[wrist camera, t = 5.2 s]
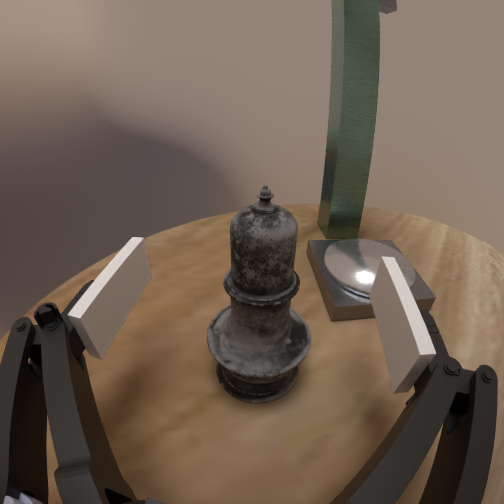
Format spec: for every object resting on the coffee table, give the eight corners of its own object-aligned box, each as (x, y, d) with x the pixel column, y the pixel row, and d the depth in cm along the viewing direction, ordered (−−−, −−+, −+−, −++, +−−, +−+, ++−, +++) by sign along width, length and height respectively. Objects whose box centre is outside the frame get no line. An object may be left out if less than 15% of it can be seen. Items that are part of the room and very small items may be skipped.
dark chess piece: (200, 350, 18) (176, 176, 12) (275, 325, 21) (288, 163, 14) (233, 421, 14) (219, 232, 8) (319, 384, 16) (371, 203, 10)
